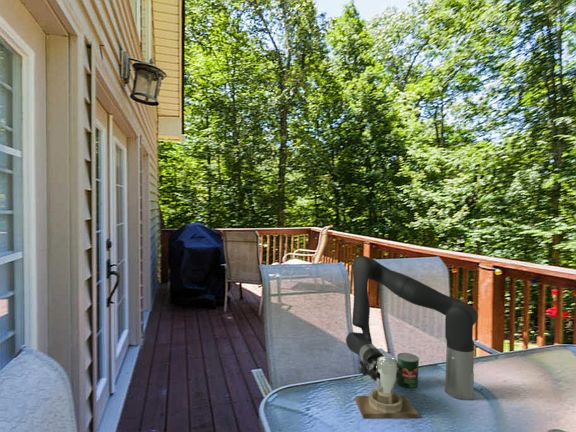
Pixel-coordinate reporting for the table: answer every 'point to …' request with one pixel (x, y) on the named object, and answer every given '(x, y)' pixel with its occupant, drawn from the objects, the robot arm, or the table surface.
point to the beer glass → (386, 379)
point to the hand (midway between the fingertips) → (388, 377)
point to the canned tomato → (408, 371)
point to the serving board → (377, 414)
